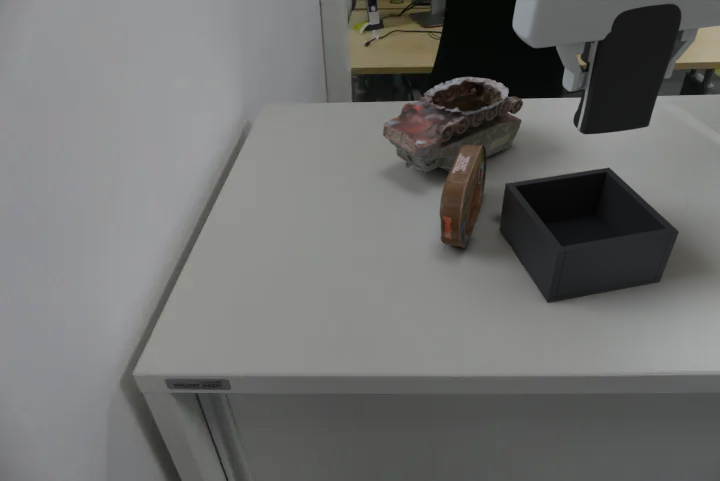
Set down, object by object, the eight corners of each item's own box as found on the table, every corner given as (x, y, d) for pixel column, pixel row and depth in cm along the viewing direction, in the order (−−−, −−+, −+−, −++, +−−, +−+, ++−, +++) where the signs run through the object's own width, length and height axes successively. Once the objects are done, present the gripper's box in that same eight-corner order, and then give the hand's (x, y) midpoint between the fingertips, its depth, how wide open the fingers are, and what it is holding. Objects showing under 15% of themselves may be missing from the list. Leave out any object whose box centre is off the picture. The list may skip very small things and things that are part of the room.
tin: (461, 262, 62) (466, 200, 57) (433, 257, 63) (436, 195, 58) (486, 191, 73) (492, 133, 68) (462, 187, 74) (466, 130, 69)
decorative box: (544, 163, 78) (556, 98, 72) (427, 210, 71) (429, 141, 65) (482, 127, 87) (488, 67, 81) (373, 165, 80) (370, 102, 74)
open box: (596, 213, 68) (609, 167, 64) (660, 281, 59) (679, 231, 55) (499, 230, 67) (505, 183, 63) (547, 302, 57) (558, 252, 53)
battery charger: (629, 112, 55) (663, -12, 48) (651, 129, 52) (691, 0, 45) (561, 120, 54) (586, -5, 47) (580, 138, 51) (609, 8, 44)
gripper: (548, -75, 38) (522, 112, 47) (812, -100, 41) (741, 82, 49) (511, -89, 43) (493, 83, 52) (748, -110, 46) (694, 57, 54)
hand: (616, 82), depth 51 cm, fingers closed on battery charger, 7 cm apart
